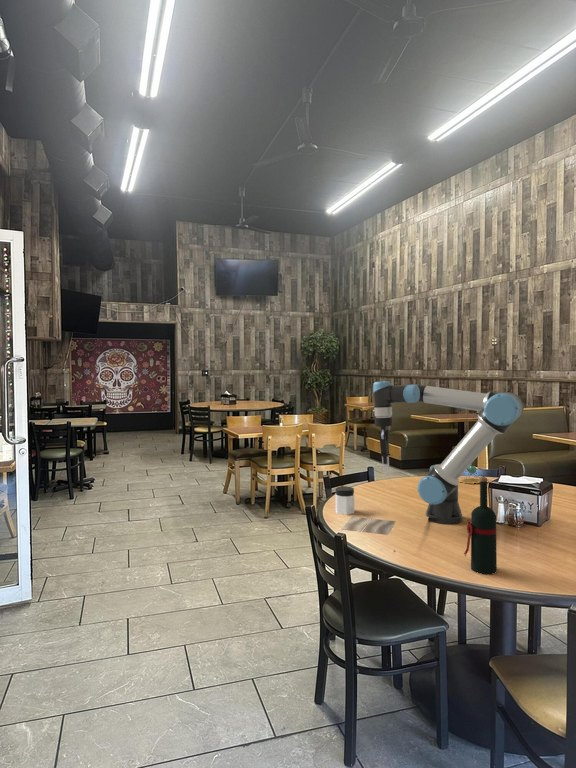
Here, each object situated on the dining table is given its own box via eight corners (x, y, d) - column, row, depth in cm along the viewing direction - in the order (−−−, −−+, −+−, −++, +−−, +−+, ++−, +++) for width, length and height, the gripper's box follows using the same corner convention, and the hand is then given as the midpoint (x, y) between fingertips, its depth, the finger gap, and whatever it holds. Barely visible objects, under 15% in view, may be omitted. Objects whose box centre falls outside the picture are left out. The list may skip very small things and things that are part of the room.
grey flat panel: (398, 524, 205) (398, 520, 205) (389, 539, 187) (389, 535, 187) (345, 518, 214) (345, 515, 214) (331, 532, 195) (331, 529, 195)
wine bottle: (460, 564, 162) (460, 475, 161) (491, 564, 161) (491, 475, 161) (467, 574, 154) (467, 480, 153) (500, 574, 154) (500, 480, 153)
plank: (370, 521, 208) (370, 518, 208) (360, 534, 192) (360, 531, 192) (352, 518, 211) (352, 516, 211) (341, 531, 195) (341, 528, 195)
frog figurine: (492, 485, 272) (489, 459, 271) (459, 487, 275) (456, 462, 275) (488, 481, 281) (485, 456, 281) (456, 483, 284) (453, 458, 284)
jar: (343, 518, 213) (342, 491, 213) (331, 514, 220) (331, 488, 220) (358, 515, 218) (358, 488, 218) (346, 511, 225) (346, 485, 224)
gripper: (376, 415, 218) (379, 468, 218) (372, 418, 206) (375, 473, 206) (393, 415, 216) (396, 468, 216) (390, 418, 204) (393, 474, 204)
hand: (386, 471), depth 211 cm, fingers closed
